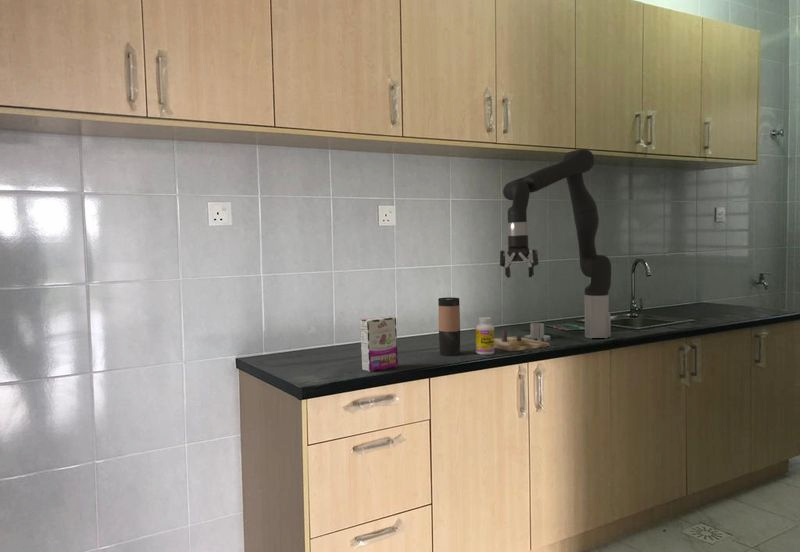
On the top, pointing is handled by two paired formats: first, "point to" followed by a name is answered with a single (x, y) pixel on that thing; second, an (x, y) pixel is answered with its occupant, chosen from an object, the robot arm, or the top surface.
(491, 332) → the supplement bottle
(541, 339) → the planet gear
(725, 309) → the top surface
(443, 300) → the travel mug
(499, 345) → the carrier board
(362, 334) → the candy bar box
